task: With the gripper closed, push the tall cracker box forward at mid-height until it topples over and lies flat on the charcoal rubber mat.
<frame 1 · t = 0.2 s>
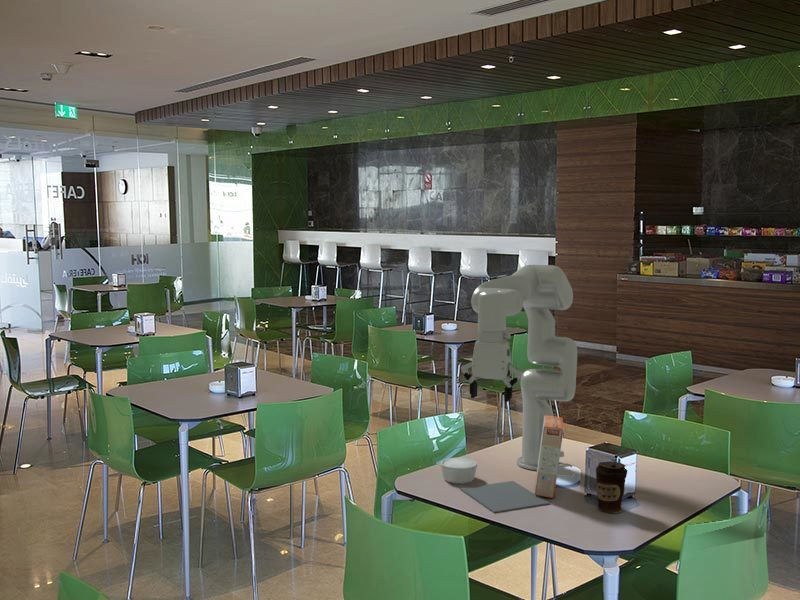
hand: (490, 399, 214), 31 cm above the table, tool pointing down, fingers open, 9 cm apart
ramekin: (458, 479, 242), on the table
rubber mat: (503, 496, 227), on the table
coffee cup: (609, 510, 217), on the table
cracker box: (545, 490, 232), on the table, touching rubber mat
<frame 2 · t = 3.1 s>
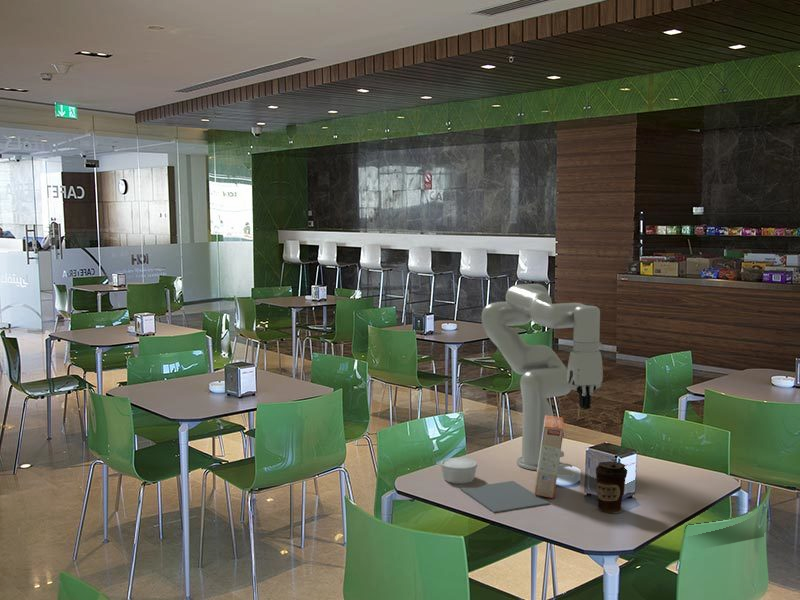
hand: (584, 407, 234), 24 cm above the table, tool pointing down, fingers closed
nothing on the table moved.
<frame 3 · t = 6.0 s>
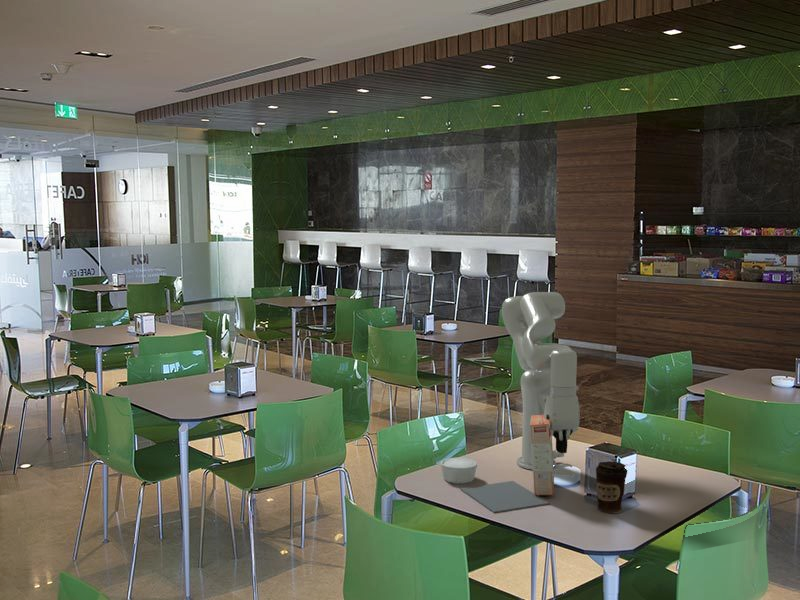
hand: (561, 451, 233), 11 cm above the table, tool pointing down, fingers closed
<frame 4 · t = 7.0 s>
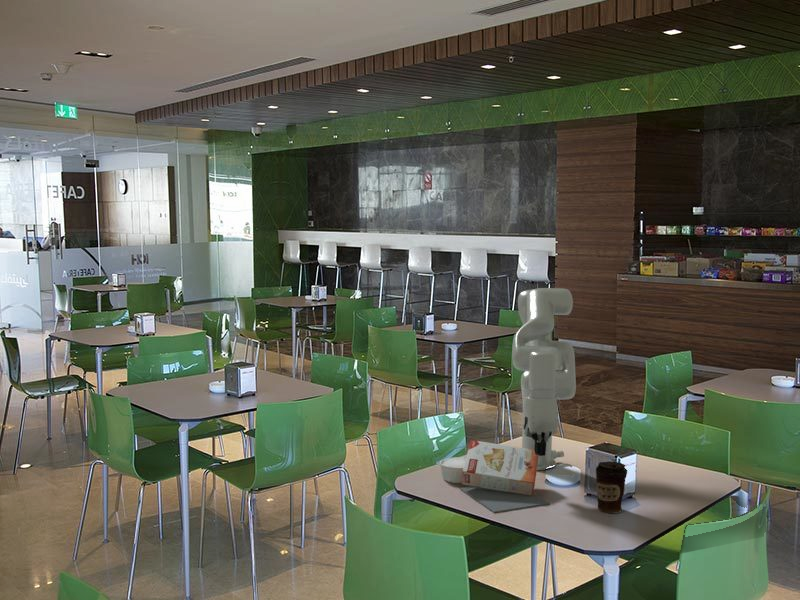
hand: (540, 454, 230), 11 cm above the table, tool pointing down, fingers closed
ramekin: (457, 479, 242), on the table, touching cracker box
cracker box: (537, 472, 230), point 6 cm above the table, touching ramekin, rubber mat
everything else where it was.
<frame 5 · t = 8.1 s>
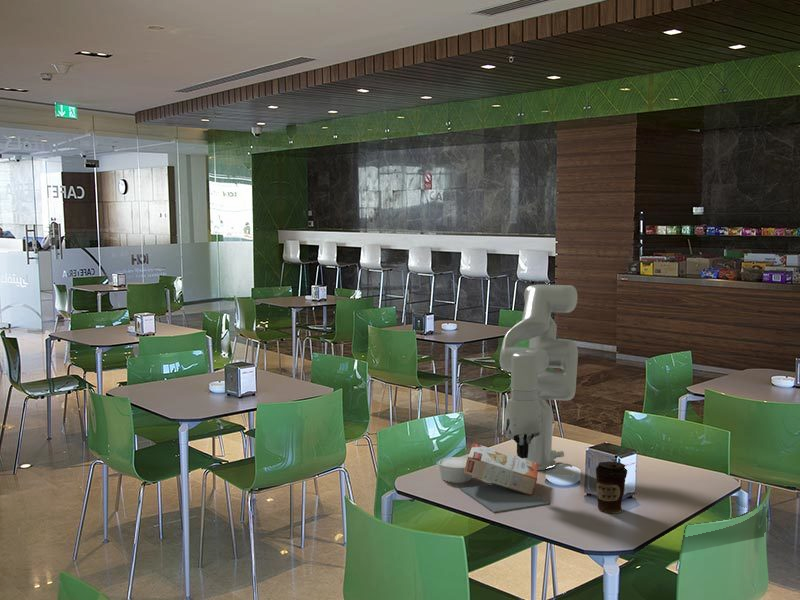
hand: (522, 456, 228), 11 cm above the table, tool pointing down, fingers closed
cracker box: (536, 478, 232), point 3 cm above the table, touching ramekin, rubber mat
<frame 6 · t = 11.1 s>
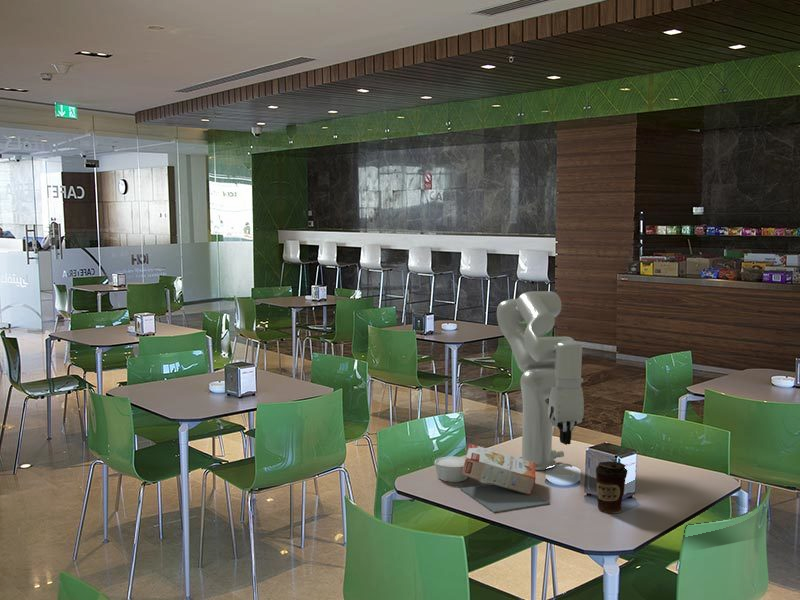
hand: (565, 443, 234), 13 cm above the table, tool pointing down, fingers closed
ramekin: (452, 478, 243), on the table, touching cracker box
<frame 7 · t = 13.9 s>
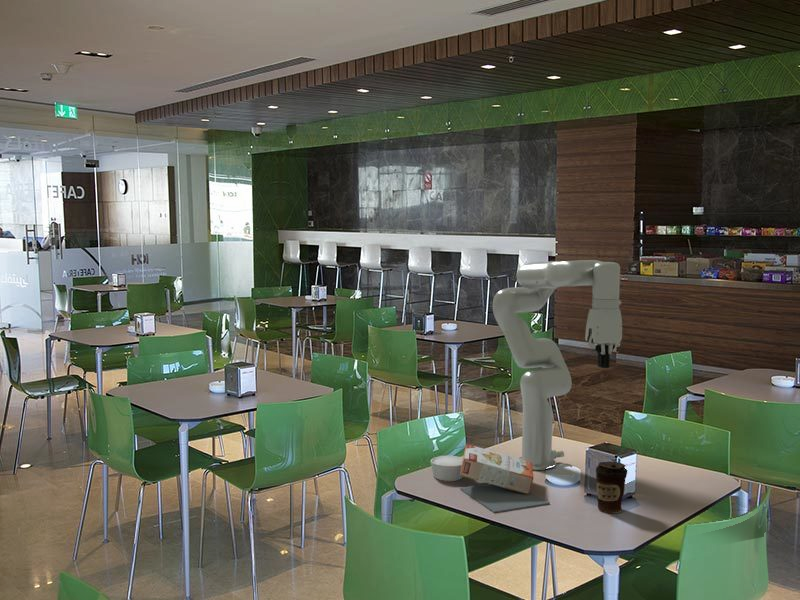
hand: (603, 367, 228), 37 cm above the table, tool pointing down, fingers closed
ramekin: (448, 477, 244), on the table, touching cracker box
at the end: cracker box tilted 78°; cracker box touching ramekin, rubber mat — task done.
